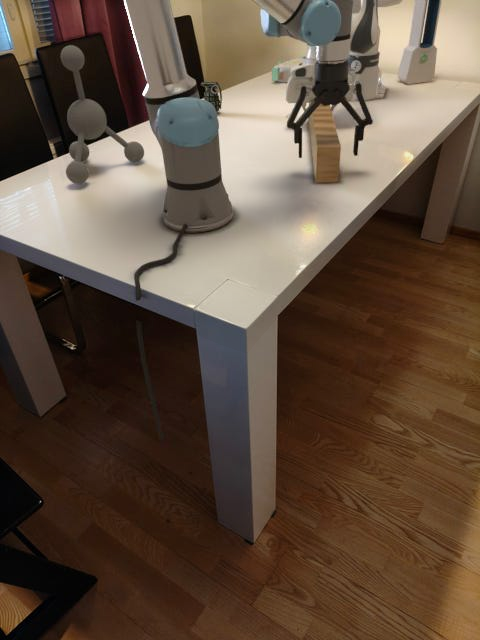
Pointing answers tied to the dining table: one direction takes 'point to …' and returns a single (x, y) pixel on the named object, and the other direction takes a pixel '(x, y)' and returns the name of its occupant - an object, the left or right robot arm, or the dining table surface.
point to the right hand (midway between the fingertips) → (318, 117)
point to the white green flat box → (285, 69)
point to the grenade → (213, 94)
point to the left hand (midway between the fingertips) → (327, 155)
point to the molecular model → (88, 122)
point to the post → (324, 144)
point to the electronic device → (421, 44)
